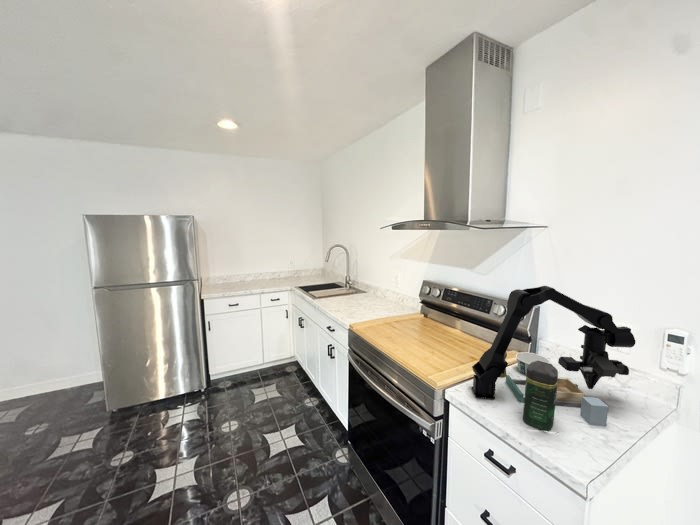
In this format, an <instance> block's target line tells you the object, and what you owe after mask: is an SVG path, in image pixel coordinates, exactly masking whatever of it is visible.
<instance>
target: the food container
mask: <svg viewBox="0 0 700 525" xmlns="http://www.w3.org/2000/svg"><path fill="white" fill-rule="evenodd" d="M515 358H516V363H517V370H518V371H519V372H520V373H521V374H523V375H525V376H526V375H527V368H528V365H529V364H530V363H532V362H535V361H542V362H546V363H549V364H551V361H550V359H548V358H547V357H545V356H543V355H541V354H537V353H534V352H526V351H521V352H517V353H516V354H515Z"/></svg>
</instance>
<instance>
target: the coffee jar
mask: <svg viewBox="0 0 700 525" xmlns="http://www.w3.org/2000/svg"><path fill="white" fill-rule="evenodd" d="M525 377H526V378H525V380H526V385H525V387H524V389H525V390H524V397H525V399H524V403H523V411H522V421H523V422H524V423H525V424H526V425H528V427H532V428H534V429H536V430H538V431H542V432H550V431H552V429H553V427H554V422H555V409H556V406H555V404H556V395H557V382H558V378H559V371H558V369H557V368H556V366H554V365H553V364H552V363H550V364H549V363H546V362H542V361H535V362H532V363H530V364H529V365H528V368H527V375H525Z"/></svg>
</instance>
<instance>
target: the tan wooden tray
mask: <svg viewBox="0 0 700 525" xmlns="http://www.w3.org/2000/svg"><path fill="white" fill-rule="evenodd" d="M574 384H575V383H573V382H572V381H571V380H570V378H565V377H564V378H563V377H558V382H557V395H556V400H561V401H573V402H582V397H586V394H585V393H584V392H583V391H582V390H581V389H580V388H579V386H578V387H577V386H576V385H574Z"/></svg>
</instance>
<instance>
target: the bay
mask: <svg viewBox="0 0 700 525" xmlns="http://www.w3.org/2000/svg"><path fill="white" fill-rule="evenodd" d="M505 384H507V386H508V388H509V389H510V390H511V392H512V393H513V395H514V396H515V398H516V399H517V401H518V402H519V403H521V404H524V399H525V394H524V393H523V392H522V391H521V389H520V388H519V387H518V386H519V385H520V386H526V379H515V378H512V377H511V376H510V375H509V374H506V377H505ZM573 384H574V385H576V386H577V387H578V388H579V384H578V383H573ZM556 406H557V407H565V408H575V409H577V408H578V409H581V402H573V401H561V400H556V404H555V407H556Z"/></svg>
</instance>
